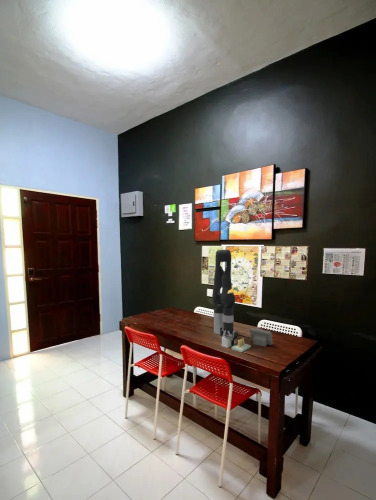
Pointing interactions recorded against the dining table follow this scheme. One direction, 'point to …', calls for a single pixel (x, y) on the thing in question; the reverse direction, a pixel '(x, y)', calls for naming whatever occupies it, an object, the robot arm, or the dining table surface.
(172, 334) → the dining table surface
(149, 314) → the dining table surface
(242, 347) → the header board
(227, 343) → the plug housing
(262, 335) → the digital clock
